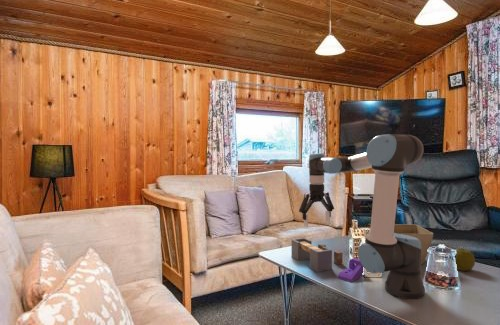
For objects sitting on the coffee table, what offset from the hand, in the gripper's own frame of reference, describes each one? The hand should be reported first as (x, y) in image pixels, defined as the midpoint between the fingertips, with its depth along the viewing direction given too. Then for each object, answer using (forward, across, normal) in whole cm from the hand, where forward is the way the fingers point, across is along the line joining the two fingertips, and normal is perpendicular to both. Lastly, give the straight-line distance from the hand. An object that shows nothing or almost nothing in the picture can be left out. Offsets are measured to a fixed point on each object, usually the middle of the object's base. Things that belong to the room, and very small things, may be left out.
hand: (316, 224), depth 175 cm
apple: (+20, -57, +39) cm, 72 cm away
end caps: (+20, +3, -2) cm, 20 cm away
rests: (+20, -9, -1) cm, 22 cm away
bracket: (+21, -3, +22) cm, 30 cm away
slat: (+14, +3, -2) cm, 14 cm away
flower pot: (+20, -44, +17) cm, 51 cm away
